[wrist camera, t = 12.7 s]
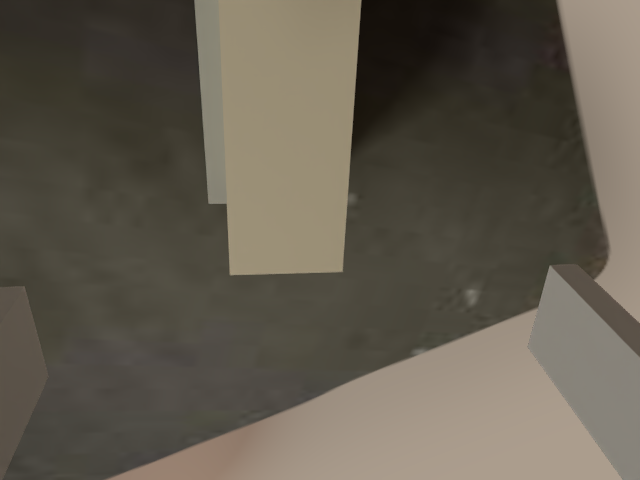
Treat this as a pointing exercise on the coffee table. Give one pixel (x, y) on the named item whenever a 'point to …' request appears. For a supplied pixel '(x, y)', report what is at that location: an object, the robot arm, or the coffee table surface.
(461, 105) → the coffee table surface
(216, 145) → the mat
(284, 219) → the cream rectangular block
